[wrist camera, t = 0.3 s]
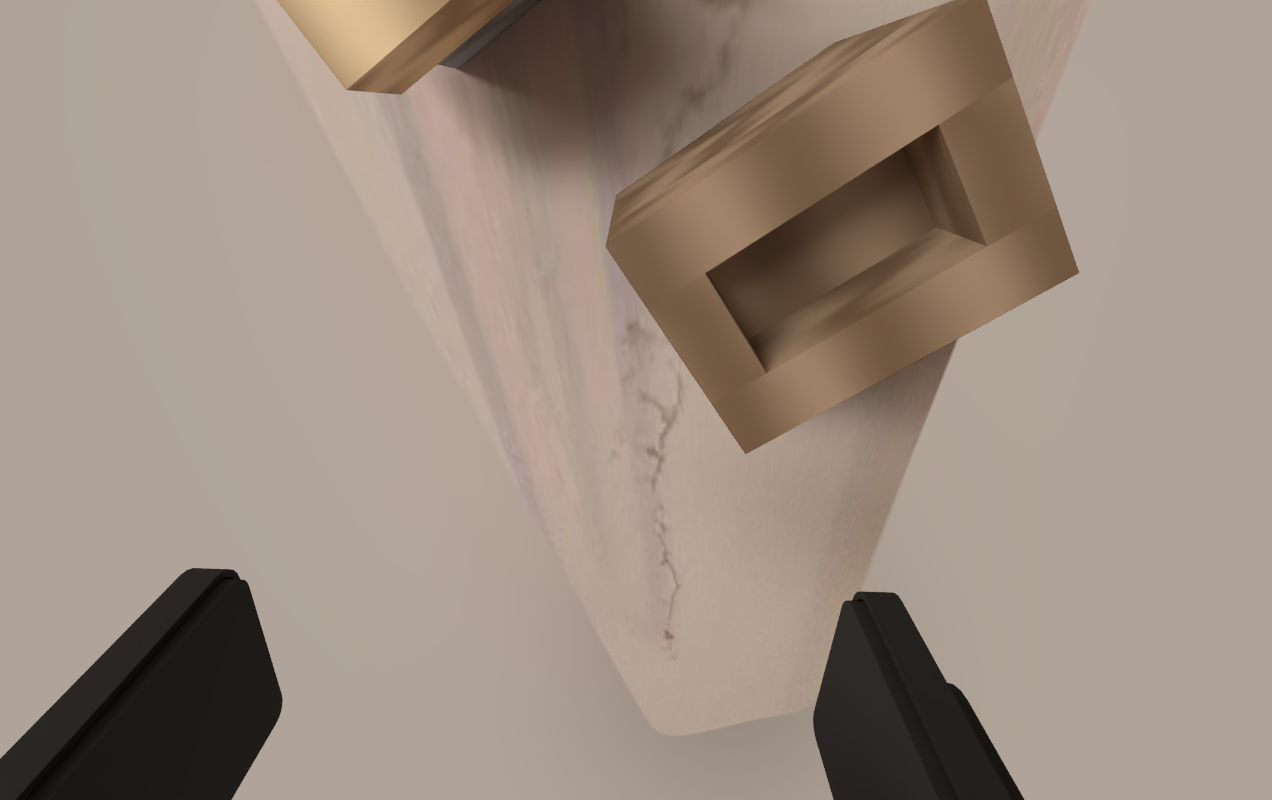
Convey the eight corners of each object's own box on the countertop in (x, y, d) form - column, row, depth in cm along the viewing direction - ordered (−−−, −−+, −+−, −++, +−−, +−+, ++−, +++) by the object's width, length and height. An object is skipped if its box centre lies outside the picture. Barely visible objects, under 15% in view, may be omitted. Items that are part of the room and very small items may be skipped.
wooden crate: (833, 43, 32) (983, -11, 18) (908, 212, 35) (1079, 272, 22) (616, 195, 35) (605, 246, 21) (706, 335, 39) (745, 454, 25)
